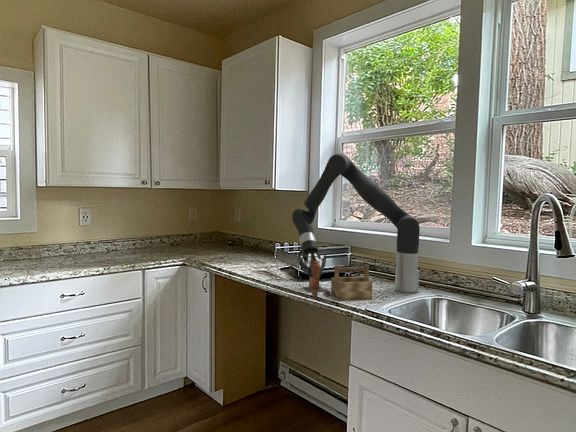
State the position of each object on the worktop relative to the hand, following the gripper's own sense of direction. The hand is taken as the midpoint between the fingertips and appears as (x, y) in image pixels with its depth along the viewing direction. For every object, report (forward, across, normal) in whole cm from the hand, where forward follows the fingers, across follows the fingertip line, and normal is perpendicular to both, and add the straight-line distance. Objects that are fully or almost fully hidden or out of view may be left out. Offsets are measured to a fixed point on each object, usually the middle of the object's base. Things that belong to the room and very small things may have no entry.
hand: (315, 275), depth 172 cm
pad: (+3, 0, +6) cm, 7 cm away
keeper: (+10, 0, -1) cm, 10 cm away
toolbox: (+12, +12, -3) cm, 18 cm away
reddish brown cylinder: (+3, 0, +6) cm, 6 cm away
